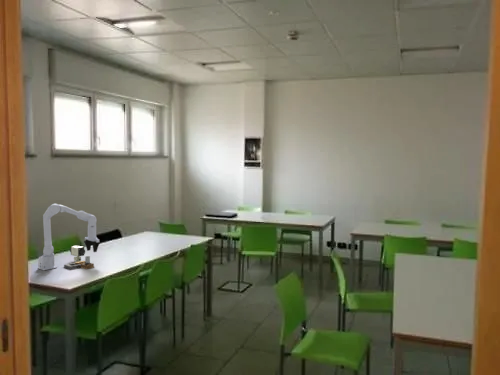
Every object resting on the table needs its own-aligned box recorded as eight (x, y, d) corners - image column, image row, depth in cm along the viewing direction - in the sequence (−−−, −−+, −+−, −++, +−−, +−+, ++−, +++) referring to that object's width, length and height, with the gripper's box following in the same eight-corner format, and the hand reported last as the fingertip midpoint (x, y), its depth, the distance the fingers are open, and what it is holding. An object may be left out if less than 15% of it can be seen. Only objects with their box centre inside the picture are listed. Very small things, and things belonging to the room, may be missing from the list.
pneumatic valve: (79, 263, 306) (80, 246, 305) (69, 261, 312) (69, 244, 311) (86, 261, 311) (86, 245, 310) (76, 259, 317) (76, 243, 316)
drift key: (76, 267, 295) (76, 262, 295) (74, 266, 296) (74, 262, 296) (85, 265, 300) (85, 261, 300) (84, 264, 302) (84, 260, 301)
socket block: (70, 269, 288) (70, 266, 288) (64, 267, 293) (64, 264, 292) (81, 267, 294) (81, 264, 294) (74, 265, 299) (74, 262, 299)
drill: (86, 267, 292) (86, 257, 292) (84, 266, 294) (84, 256, 294) (90, 266, 294) (90, 256, 294) (88, 265, 296) (88, 256, 296)
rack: (86, 269, 290) (86, 265, 290) (80, 267, 294) (80, 263, 294) (94, 267, 295) (94, 263, 295) (88, 265, 299) (89, 262, 299)
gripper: (103, 232, 299) (103, 251, 300) (90, 230, 308) (90, 249, 309) (94, 233, 294) (94, 253, 294) (82, 231, 302) (82, 250, 303)
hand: (91, 251), depth 301 cm, fingers open, 7 cm apart
